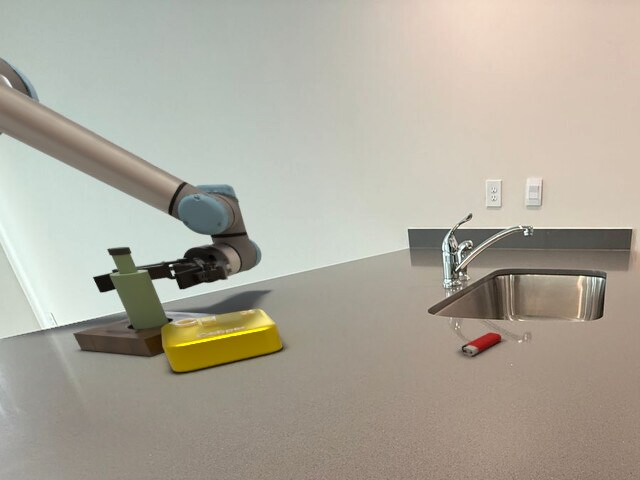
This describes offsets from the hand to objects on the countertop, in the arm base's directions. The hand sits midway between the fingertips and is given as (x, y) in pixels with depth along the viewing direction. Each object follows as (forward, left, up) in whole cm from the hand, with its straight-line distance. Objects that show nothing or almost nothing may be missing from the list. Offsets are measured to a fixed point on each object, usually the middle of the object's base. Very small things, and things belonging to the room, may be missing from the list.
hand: (138, 283), depth 71 cm
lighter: (+61, +6, -10) cm, 62 cm away
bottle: (0, -1, -10) cm, 10 cm away
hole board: (0, -1, -10) cm, 10 cm away
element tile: (+18, -3, -10) cm, 21 cm away
